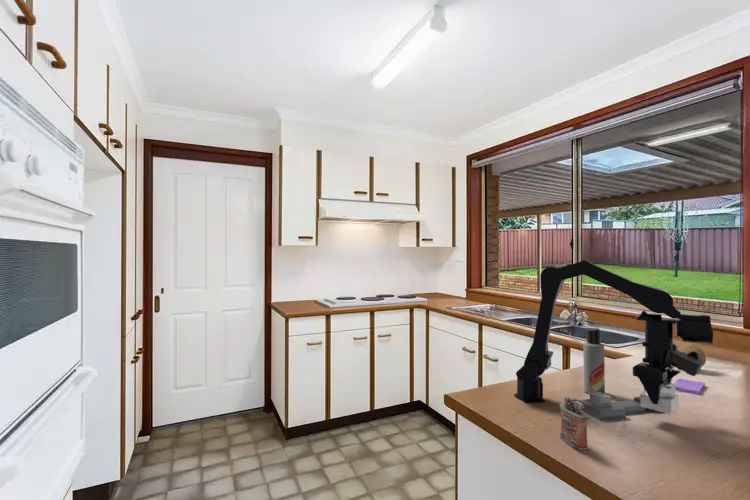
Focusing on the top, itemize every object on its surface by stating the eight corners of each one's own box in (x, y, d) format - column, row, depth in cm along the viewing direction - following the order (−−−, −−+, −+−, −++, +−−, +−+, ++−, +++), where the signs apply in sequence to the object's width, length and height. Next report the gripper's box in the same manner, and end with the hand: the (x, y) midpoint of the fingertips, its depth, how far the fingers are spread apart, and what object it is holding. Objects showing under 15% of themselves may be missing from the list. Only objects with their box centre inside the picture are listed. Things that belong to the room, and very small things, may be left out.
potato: (713, 374, 141) (713, 347, 141) (688, 374, 141) (688, 346, 142) (693, 367, 150) (693, 341, 150) (670, 367, 150) (670, 341, 151)
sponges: (671, 391, 124) (671, 385, 125) (678, 382, 133) (678, 377, 133) (699, 397, 119) (699, 390, 119) (705, 387, 128) (705, 382, 128)
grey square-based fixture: (671, 414, 94) (670, 389, 94) (640, 406, 99) (640, 382, 99) (678, 408, 98) (678, 384, 98) (648, 400, 103) (648, 377, 103)
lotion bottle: (607, 396, 118) (607, 330, 118) (587, 395, 119) (586, 329, 119) (600, 390, 123) (600, 327, 124) (581, 389, 124) (580, 326, 125)
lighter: (556, 435, 91) (556, 392, 91) (570, 435, 92) (569, 392, 92) (577, 452, 83) (576, 405, 83) (592, 452, 83) (591, 405, 84)
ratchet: (600, 421, 100) (600, 401, 100) (577, 409, 108) (577, 391, 108) (675, 412, 106) (674, 394, 106) (648, 402, 114) (647, 384, 114)
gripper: (688, 350, 86) (689, 420, 86) (708, 339, 98) (709, 401, 98) (631, 341, 95) (632, 405, 95) (656, 332, 107) (656, 390, 107)
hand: (659, 400), depth 98 cm, fingers closed on grey square-based fixture, 6 cm apart
